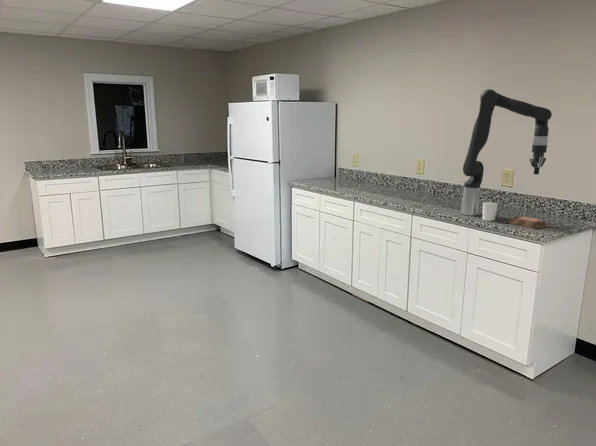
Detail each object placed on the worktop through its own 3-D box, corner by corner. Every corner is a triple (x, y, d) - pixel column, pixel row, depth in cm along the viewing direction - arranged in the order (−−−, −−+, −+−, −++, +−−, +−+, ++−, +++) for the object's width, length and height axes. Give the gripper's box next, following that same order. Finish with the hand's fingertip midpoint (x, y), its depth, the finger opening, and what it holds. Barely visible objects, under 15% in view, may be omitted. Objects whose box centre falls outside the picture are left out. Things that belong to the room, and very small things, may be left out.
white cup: (492, 218, 277) (493, 201, 275) (498, 221, 270) (499, 204, 268) (479, 218, 277) (480, 201, 275) (484, 221, 269) (486, 204, 267)
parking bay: (509, 223, 264) (509, 218, 263) (520, 221, 269) (520, 216, 268) (533, 228, 251) (534, 223, 251) (545, 226, 257) (545, 221, 256)
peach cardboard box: (516, 223, 263) (517, 217, 262) (524, 222, 266) (524, 216, 266) (533, 227, 254) (534, 221, 254) (540, 225, 258) (541, 219, 257)
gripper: (540, 143, 272) (536, 173, 276) (526, 144, 265) (523, 174, 269) (552, 144, 265) (549, 174, 269) (539, 144, 259) (535, 175, 263)
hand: (536, 174), depth 269 cm, fingers closed
